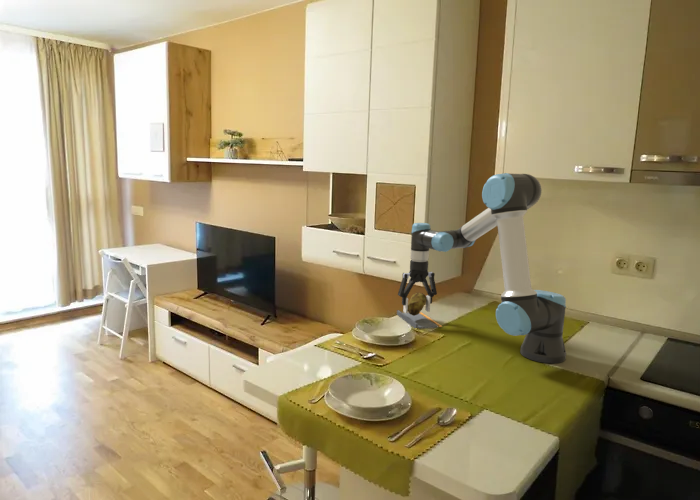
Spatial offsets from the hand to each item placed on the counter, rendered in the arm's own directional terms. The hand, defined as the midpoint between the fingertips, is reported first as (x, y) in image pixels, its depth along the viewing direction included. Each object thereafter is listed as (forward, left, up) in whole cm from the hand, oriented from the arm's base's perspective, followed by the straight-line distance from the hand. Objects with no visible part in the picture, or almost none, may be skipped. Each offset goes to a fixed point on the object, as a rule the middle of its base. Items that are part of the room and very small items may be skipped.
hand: (416, 311), depth 217 cm
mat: (0, -1, -4) cm, 4 cm away
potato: (0, 0, -1) cm, 1 cm away
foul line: (0, -7, -4) cm, 8 cm away
